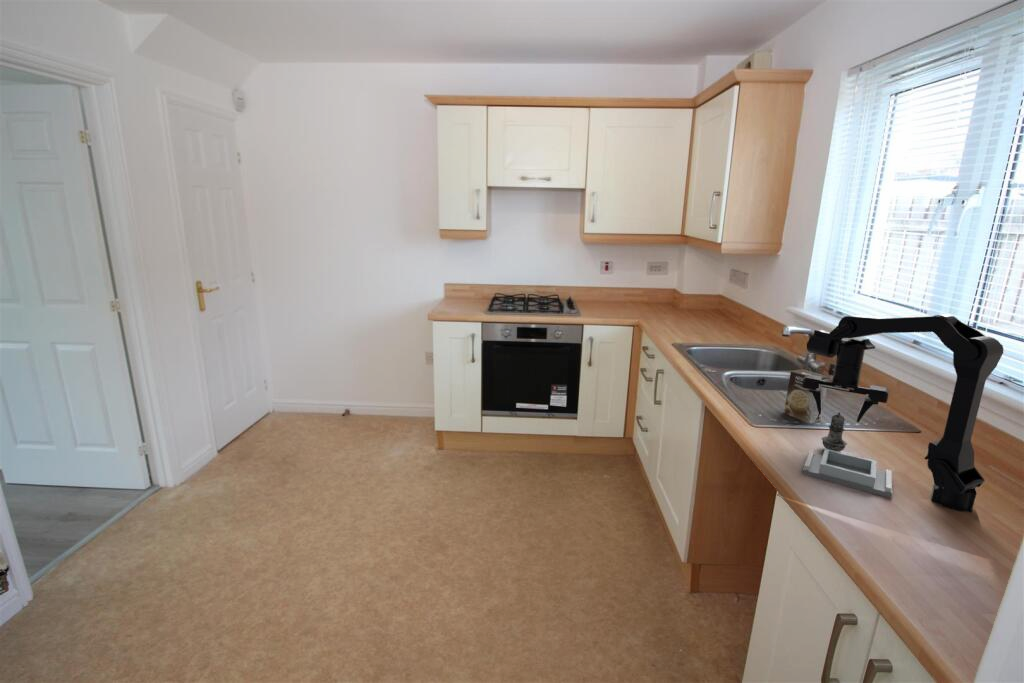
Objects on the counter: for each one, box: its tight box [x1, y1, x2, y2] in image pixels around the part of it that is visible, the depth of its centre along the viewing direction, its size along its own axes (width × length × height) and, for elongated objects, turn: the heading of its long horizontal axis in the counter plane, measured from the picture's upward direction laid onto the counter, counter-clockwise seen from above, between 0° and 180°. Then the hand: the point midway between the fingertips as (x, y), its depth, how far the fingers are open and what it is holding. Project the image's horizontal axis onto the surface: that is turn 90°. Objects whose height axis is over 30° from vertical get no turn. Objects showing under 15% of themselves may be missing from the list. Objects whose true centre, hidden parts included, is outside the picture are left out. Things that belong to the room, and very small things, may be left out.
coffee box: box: [783, 368, 830, 424], centre depth 154 cm, size 9×6×16 cm
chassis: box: [801, 448, 893, 499], centre depth 121 cm, size 18×12×4 cm, turn 53°
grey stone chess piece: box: [821, 411, 848, 452], centre depth 133 cm, size 6×6×12 cm
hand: (838, 417), depth 132 cm, fingers open, 8 cm apart
